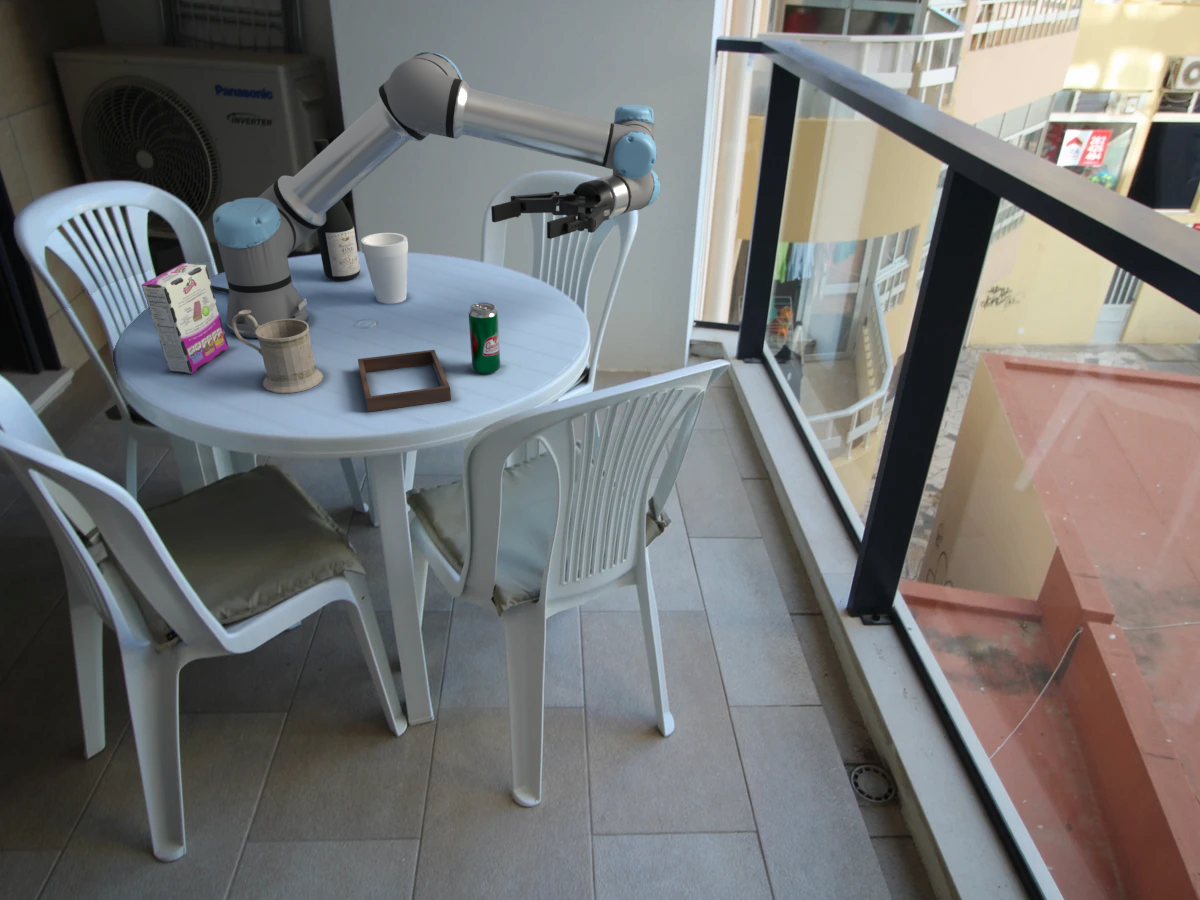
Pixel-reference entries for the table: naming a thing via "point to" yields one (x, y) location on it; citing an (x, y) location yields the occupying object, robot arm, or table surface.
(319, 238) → the wine bottle
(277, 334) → the mug
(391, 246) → the foam cup
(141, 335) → the table surface
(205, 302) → the candy bar box
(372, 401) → the square wooden frame
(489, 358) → the soda can
